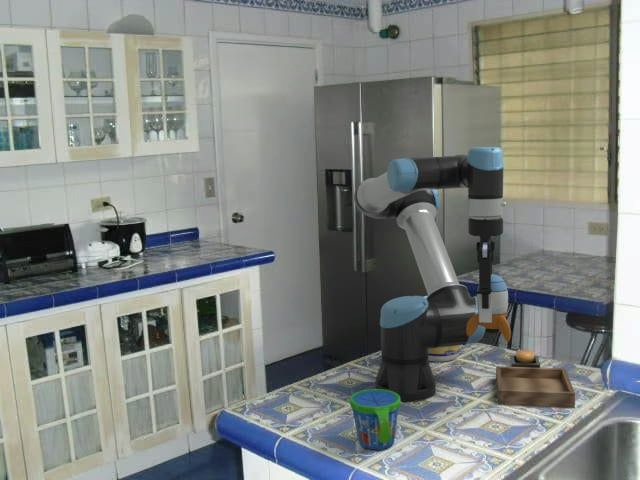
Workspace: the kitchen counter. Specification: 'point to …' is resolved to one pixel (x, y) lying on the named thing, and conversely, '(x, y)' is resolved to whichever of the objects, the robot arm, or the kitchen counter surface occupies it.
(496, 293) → the toy rocket
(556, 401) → the open wooden tray
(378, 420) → the snack cup
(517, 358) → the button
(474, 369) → the kitchen counter surface
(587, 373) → the kitchen counter surface
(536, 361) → the button housing
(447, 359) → the supplement tub
